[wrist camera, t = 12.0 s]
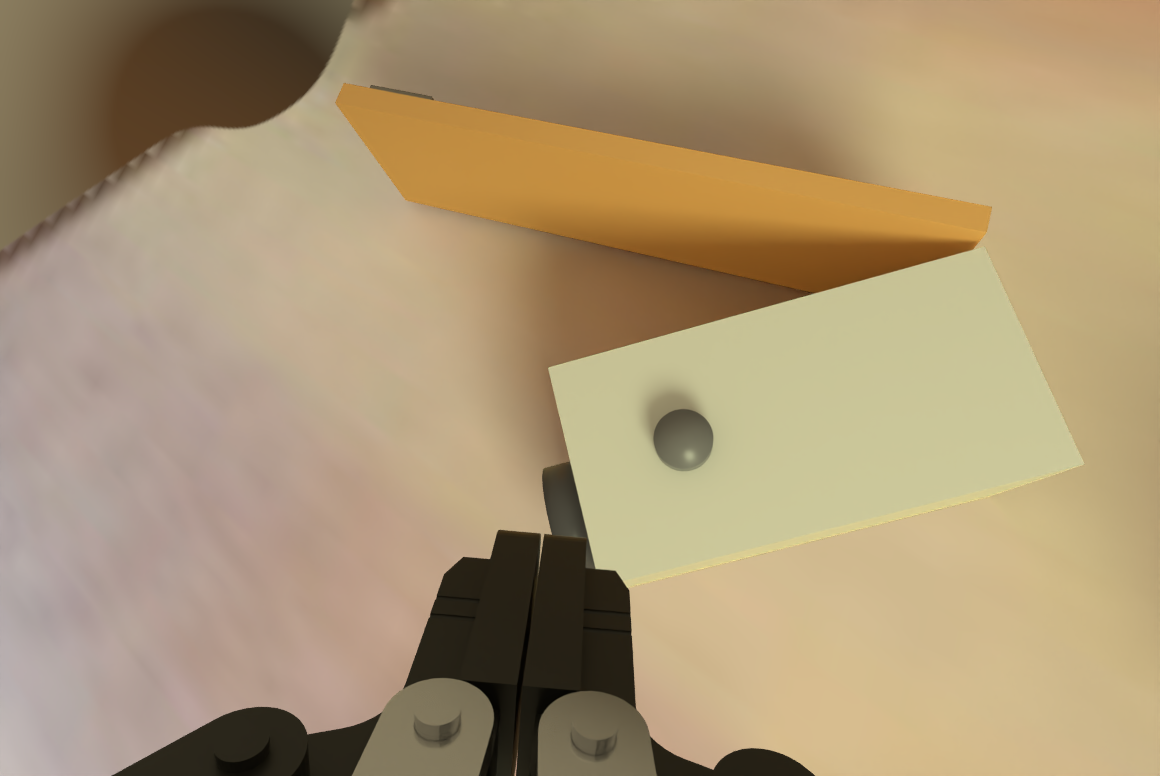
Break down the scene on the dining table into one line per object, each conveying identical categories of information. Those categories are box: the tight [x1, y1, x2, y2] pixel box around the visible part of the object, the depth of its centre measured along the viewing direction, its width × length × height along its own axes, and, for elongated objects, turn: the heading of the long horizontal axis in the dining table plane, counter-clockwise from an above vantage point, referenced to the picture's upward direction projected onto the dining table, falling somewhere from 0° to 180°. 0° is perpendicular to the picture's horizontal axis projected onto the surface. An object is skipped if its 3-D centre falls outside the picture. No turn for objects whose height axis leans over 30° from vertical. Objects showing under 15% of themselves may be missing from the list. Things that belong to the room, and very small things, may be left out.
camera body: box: [542, 247, 1085, 588], centre depth 28 cm, size 17×8×9 cm, turn 104°
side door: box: [335, 83, 992, 293], centre depth 32 cm, size 26×2×8 cm, turn 72°
